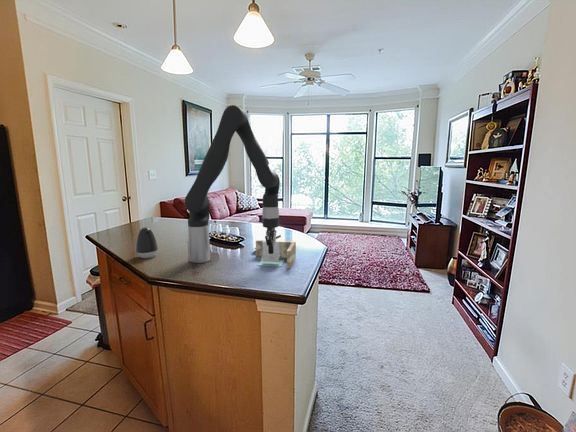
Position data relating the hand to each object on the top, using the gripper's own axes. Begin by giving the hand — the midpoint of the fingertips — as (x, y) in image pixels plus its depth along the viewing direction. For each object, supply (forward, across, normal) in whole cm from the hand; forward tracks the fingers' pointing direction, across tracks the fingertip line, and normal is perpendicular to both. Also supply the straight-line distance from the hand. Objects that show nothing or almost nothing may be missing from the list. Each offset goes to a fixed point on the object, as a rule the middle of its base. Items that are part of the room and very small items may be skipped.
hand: (271, 253), depth 135 cm
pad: (+5, 0, 0) cm, 5 cm away
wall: (+5, -22, -7) cm, 24 cm away
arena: (+5, -2, 0) cm, 5 cm away
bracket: (+3, +2, 0) cm, 3 cm away
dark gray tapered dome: (+5, 0, -64) cm, 64 cm away
